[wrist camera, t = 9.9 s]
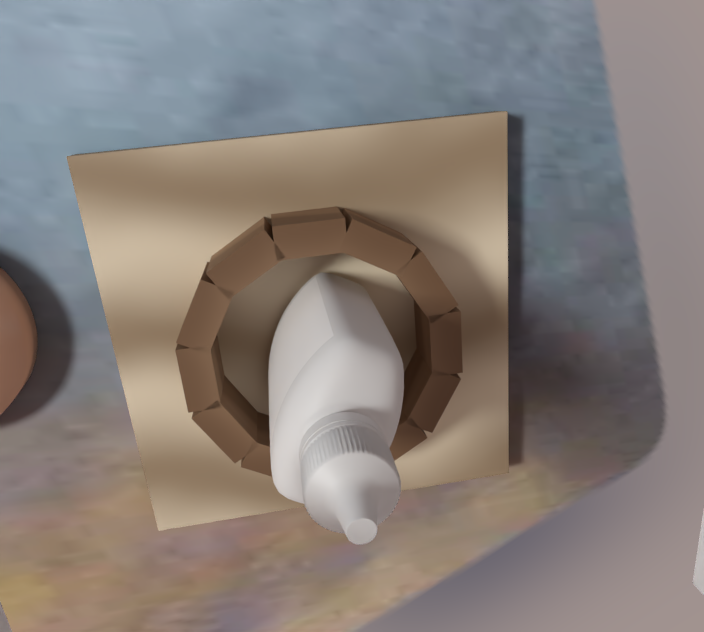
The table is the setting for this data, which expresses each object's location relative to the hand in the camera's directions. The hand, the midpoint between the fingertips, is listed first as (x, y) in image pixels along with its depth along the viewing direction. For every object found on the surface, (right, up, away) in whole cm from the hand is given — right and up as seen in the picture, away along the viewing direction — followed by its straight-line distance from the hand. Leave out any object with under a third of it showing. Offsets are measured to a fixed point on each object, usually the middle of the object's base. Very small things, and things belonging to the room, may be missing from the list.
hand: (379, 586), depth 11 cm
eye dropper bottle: (-2, +4, +13) cm, 14 cm away
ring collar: (-2, +4, +14) cm, 15 cm away
